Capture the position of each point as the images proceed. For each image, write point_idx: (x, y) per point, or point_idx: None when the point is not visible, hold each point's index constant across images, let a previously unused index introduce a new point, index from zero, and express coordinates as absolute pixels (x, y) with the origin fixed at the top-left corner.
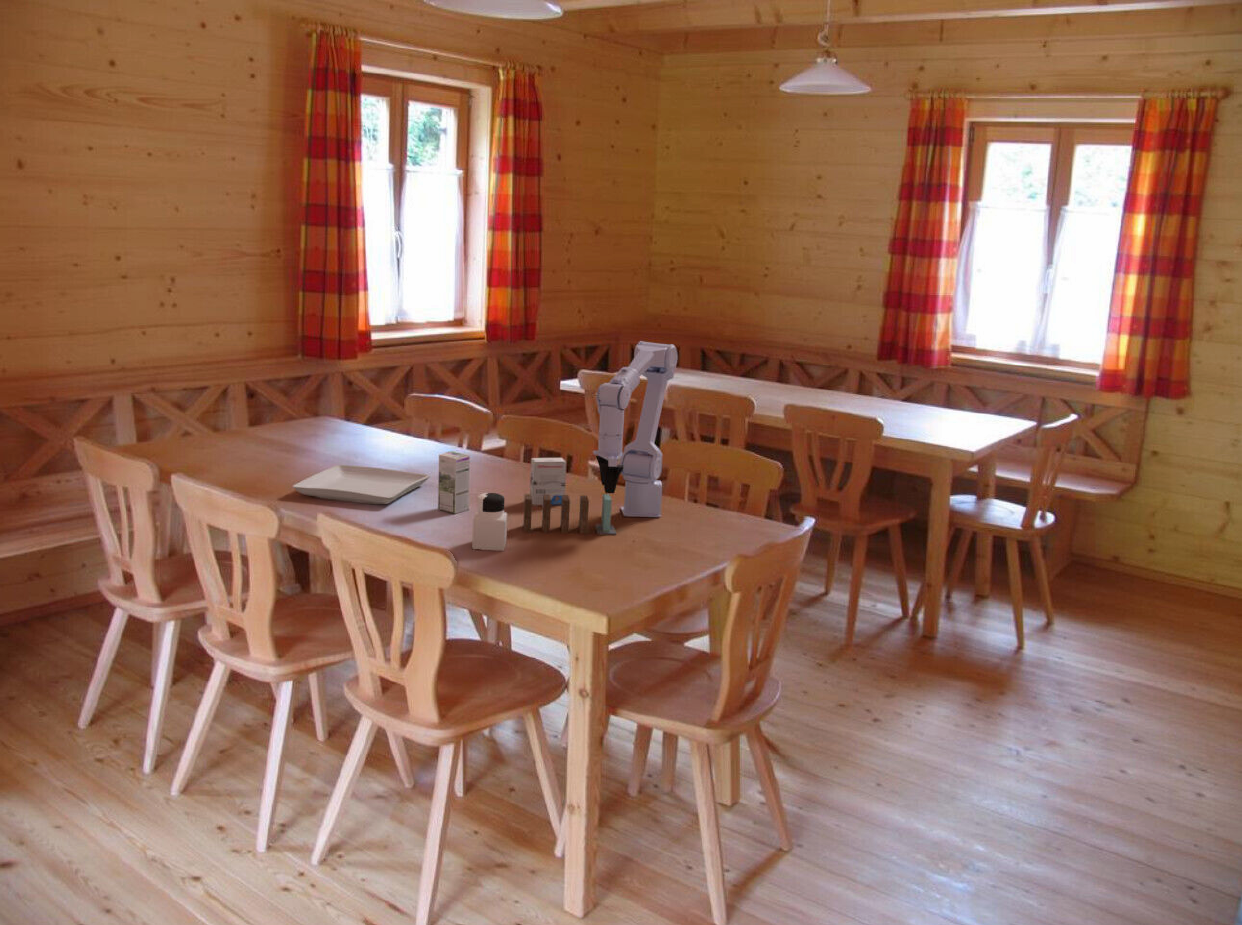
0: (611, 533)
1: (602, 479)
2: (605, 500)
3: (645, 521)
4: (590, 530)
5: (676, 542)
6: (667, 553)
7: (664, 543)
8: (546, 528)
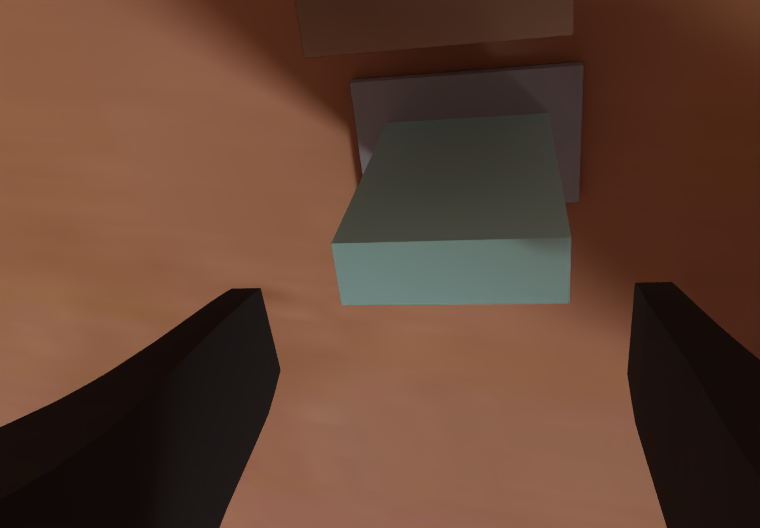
0: None
1: (656, 330)
2: (334, 244)
3: None
4: None
5: (301, 477)
6: None
7: (268, 428)
8: None
